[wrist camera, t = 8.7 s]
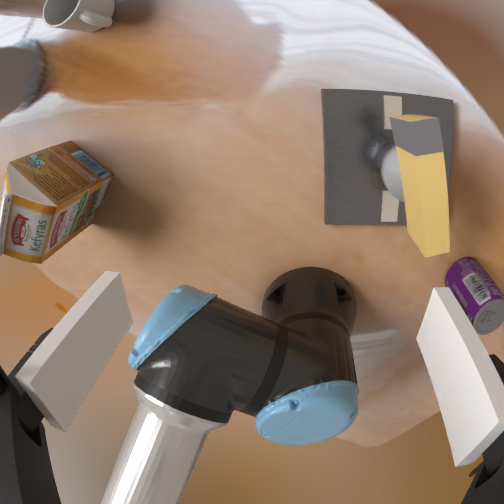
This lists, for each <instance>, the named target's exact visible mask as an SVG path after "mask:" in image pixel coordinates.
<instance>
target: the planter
mask: <svg viewBox="0 0 504 504" xmlns="http://www.w3.org/2000/svg"><path fill="white" fill-rule="evenodd" d="M45 2H46V0H0V15H8V16H21V17H32V18H42V17H43V8H44V5H45Z"/></svg>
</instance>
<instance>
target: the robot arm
mask: <svg viewBox="0 0 504 504" xmlns="http://www.w3.org/2000/svg"><path fill="white" fill-rule="evenodd" d="M217 296H218V295H216V294H209V293H207V292H204V291H201V290H199V289H196V288H194V287H191V286H188V285H181V286H178V287H176V288H174V289H172V290H171V291H170V292H169V293H168V294H167V295H166V296H165V297H164V298H163V300H162V301H161V302H160V303H159V305H158V306H157V307H156V309H155V310H154V312H153V313H152V315H151V316H150V318H149V319H148V321H147V322H146V324H145V326H144V327H143V329H142V331H141V332H140V334H139V336H138V338H137V340H136V342H135V344H134V347H133V349H132V351H131V353H130V355H129V364H130V365H131V366H132V368H133V369H135V370H138V374H137V376H136V379H135V381H134V383H133V387H134V389H135V391H136V394H137V396H138V398H139V406H138V408H137V411H136V413H135V416H134V418H133V421H132V423H131V426H130V429H129V431H128V433H127V436H126V439H125V441H124V444H123V446H122V449H121V451H120V454H119V457H118V459H117V462H116V464H115V467H114V470H113V472H112V475H111V478H110V480H109V483H108V486H107V489H106V491H105V494H104V497H103V500H102V503H101V504H178V503H179V500H180V498H181V496H182V494H183V491H184V489H185V487H186V485H187V482H188V480H189V478H190V476H191V473H192V471H193V469H194V467H195V464H196V462H197V460H198V457H199V455H200V453H201V450H202V448H203V446H204V443H205V441H206V439H207V436H208V434H209V433H210V432H211V431H213V430H215V429H218V428H221V427H223V426H225V425H227V424H228V421H229V419H230V417H231V414H232V412H233V411H234V410H236V411H240V412H243V413H245V414H249V415H251V416H254V417H256V419H255V426H256V429H257V432H258V433H259V434H260V435H262V437H263V438H265V439H267V440H269V441H272V442H275V443H279V444H287V445H302V444H311V443H316V442H320V441H324V440H327V439H330V438H332V437H334V436H336V435H338V434H340V433H341V432H343V431H344V430H346V429H347V428H348V427H349V426H350V425H351V424H352V423H353V421H354V420H355V418H356V416H357V412H358V392H359V390H358V386H357V379H356V372H355V365H354V359H353V353H352V347H351V341H350V335H351V332H352V328H353V325H354V321H355V318H356V302H355V298H354V294H353V291H352V289H351V287H350V286H349V284H348V283H347V282H346V281H345V280H344V279H343V278H342V277H341V276H339V275H338V274H336V273H334V272H332V271H329V270H326V269H322V268H315V267H306V268H299V269H295V270H292V271H289V272H287V273H285V274H283V275H281V276H280V277H278V278H277V279H276V280H275V281H274V282H273V283H272V284H271V285H270V286H269V288H268V289H267V291H266V293H265V296H264V300H263V305H262V317H261V316H259V315H257V314H254V313H252V312H250V311H247V310H245V309H243V308H240V307H238V306H236V305H234V304H231V303H229V302H227V301H225V300H223V299H220V298H218V297H217ZM132 323H133V319H132V316H131V312H130V309H129V305H128V302H127V298H126V294H125V291H124V287H123V283H122V279H121V275H120V272H110V271H105V272H104V273H103V274H102V275H101V277H100V278H99V279H98V280H97V281H96V282H95V283H94V284H93V285H92V286H91V287H90V288H89V289H88V290H87V291H86V293H85V294H84V295H83V296H82V297H81V298H80V299H79V300H78V301H77V302H76V304H75V305H74V306H73V307H72V308H71V309H70V310H69V311H68V313H67V314H66V315H65V316H64V317H63V318H62V320H61V321H60V322H59V323H58V324H57V325H56V326H55V328H51V329H49V330H48V331H46V332H45V333H43V334H42V335H41V336H40V337H39V338H38V340H37V341H36V342H35V345H33V346H32V347H31V348H30V349H29V352H27V353H26V354H25V355H24V356H23V358H22V359H21V360H20V361H19V363H18V364H17V365H16V367H15V368H14V369H13V370H12V372H11V373H10V374H9V375H8V376H7V375H6V374H5V372H4V370H3V369H2V367H1V366H0V504H61V501H60V498H59V494H58V491H57V487H56V483H55V479H54V475H53V471H52V467H51V462H50V457H49V452H48V447H47V441H46V435H45V429H44V426H43V424H42V422H41V421H42V419H43V418H44V417H45V418H46V419H47V421H48V422H49V423H50V425H51V426H53V427H55V428H58V429H60V430H62V431H64V432H67V430H68V429H69V427H70V425H71V423H72V422H73V419H74V418H75V416H76V414H77V413H78V411H79V409H80V407H81V406H82V404H83V403H84V401H85V399H86V397H87V396H88V394H89V392H90V391H91V389H92V387H93V386H94V384H95V382H96V381H97V379H98V377H99V376H100V374H101V372H102V371H103V369H104V367H105V366H106V364H107V363H108V361H109V359H110V358H111V356H112V354H113V353H114V351H115V350H116V348H117V347H118V345H119V344H120V342H121V340H122V339H123V337H124V336H125V334H126V333H127V331H128V330H129V328H130V326H131V325H132ZM416 339H417V342H418V344H419V347H420V350H421V353H422V355H423V358H424V361H425V364H426V367H427V369H428V372H429V375H430V378H431V381H432V384H433V387H434V390H435V394H436V397H437V400H438V403H439V407H440V410H441V413H442V417H443V420H444V424H445V427H446V431H447V435H448V439H449V443H450V446H451V451H452V455H453V459H454V464H455V467H458V466H462V465H466V464H469V463H473V462H474V461H475V460H476V459H477V458H478V457H479V456H480V455H481V454H482V455H483V459H484V461H483V462H482V463H481V464H479V465H478V466H477V467H476V468H475V469H474V470H473V471H472V472H471V473H470V475H469V477H471V476H472V475H474V474H475V473H476V472H477V473H476V475H475V477H474V479H473V481H472V483H471V485H470V487H469V489H468V491H467V493H466V495H465V497H464V499H463V501H462V503H461V504H504V363H503V362H502V361H501V360H500V359H499V358H498V357H497V356H496V355H495V354H492V355H488V353H487V351H486V349H485V347H484V345H483V344H482V342H481V340H480V338H479V336H478V335H477V333H476V331H475V329H474V328H473V326H472V324H471V322H470V321H469V319H468V317H467V316H466V314H465V312H464V311H463V309H462V307H461V306H460V304H459V303H458V301H457V299H456V298H455V296H454V295H453V293H452V292H451V290H450V288H449V287H434V288H433V291H432V294H431V298H430V301H429V304H428V307H427V310H426V313H425V316H424V318H423V321H422V324H421V327H420V330H419V332H418V335H417V338H416Z"/></svg>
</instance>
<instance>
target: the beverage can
mask: <svg viewBox="0 0 504 504" xmlns="http://www.w3.org/2000/svg"><path fill="white" fill-rule="evenodd" d="M445 285H446V287H449V288H450V290H451V292H452V293H453V295H454V296H455V298H456V299H457V301H458V303H459V304H460V306H461V307H462V309H463V311H464V312H465V314H466V316H467V317H468V319H469V321H470V322H471V324H472V326H473V328H474V329H475V331H476V333H478V334H480V335H484V334H488V333H491V332H492V331H494V330H495V329H497V328H498V327H499V326H500V325H501V324H502V322H503V321H504V295H503V293H502V292H501V290H500V289H499V288H498V287H497V285H496V284H495V283H494V281H493V280H492V279H491V278H490V276H489V275H488V274H487V273H486V272H485V270H484V269H483V268H482V267H481V265H480V264H479V263H478V262H477V261H476V260H475V259H473V258H470V257H466V258H462V259H460V260H458V261H456V262H455V263H454V264H453V265H452V266H451V267H450V269H449V270H448V272H447V275H446V278H445Z"/></svg>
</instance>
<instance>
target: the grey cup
mask: <svg viewBox="0 0 504 504" xmlns="http://www.w3.org/2000/svg"><path fill="white" fill-rule="evenodd" d="M114 9H115V0H46V2H45V5H44V8H43V20H44V23H45V24H46V25H47V26H49V27H54V28H62V29H69V30H76V31H82V32H94V31H97V30H99V29H101V28H102V27H109V26H110V25H112V21H113V20H112V19H111V17H112V15H113V13H114Z"/></svg>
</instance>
